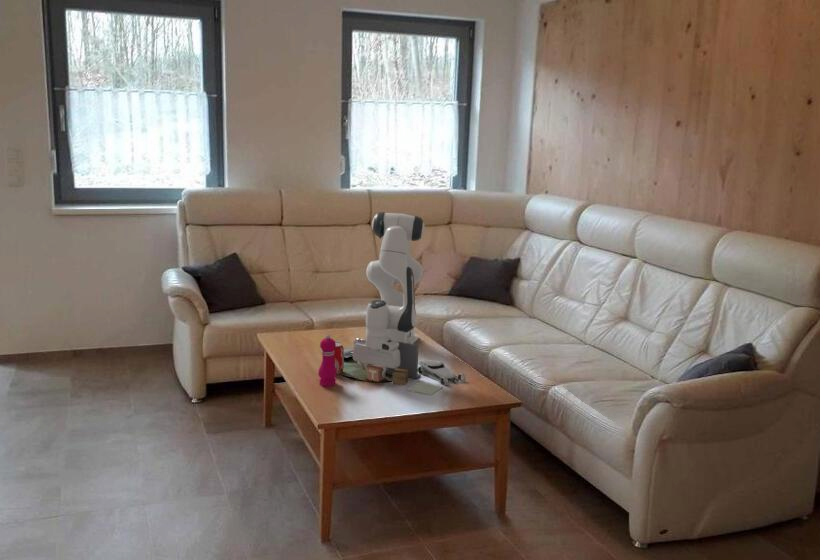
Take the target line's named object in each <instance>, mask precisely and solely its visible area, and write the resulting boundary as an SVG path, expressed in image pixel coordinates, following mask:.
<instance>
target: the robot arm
mask: <svg viewBox="0 0 820 560" xmlns="http://www.w3.org/2000/svg"><path fill="white" fill-rule="evenodd" d="M425 229H426V227H425V223H424V220H423V218H422V217H421V216H417V215H411V214H405V213H401V212H400V213H397V212H385V211H383V212H382V211H381V212H379V211H378V212H376V214H375V215H374V217H373V218H372V221H371V230H372V233H373V234H374V236H376V237H378V238H379V240H380V239H381V238H382V241H381V245H380V250H379V258H378V259H377V260H372V261H370V262H369V263H368V264H367V266H366V271H365V274H366V278H367V279H368V281H369V282H370V283H371V284H372V285H374V286H375V287H376V288H377V291H378V292H379V295H380V299H375V300H371V301H370V302H368V304H367V307H366V313H365V326H366V329H365V330H366V331H365V338H360V337H359V338H358V337H357V338H356V339H354V340H353V350H352V351H353V352H352V359H353V361H354V362H359V363H363V366H364V369H365V370H366V371H365V373H366V374H367V368H368V367H369V366H370V365H378V366H383V369H384V370H383V371H382V372H380V374H381V375H380V376H381V377H384V378H385V377H386V375H387V374H386V371H387V369H388V368H393V369H396V368H397V367H399V366H400V351H399V349H398V347H399V343H398V342H397V341H399V342H404V343H410V344H414V343H415V342H416V341H418V340H419V339H420V336H419V335H418V334H416V333H415V327H416V324H417V312H416V311H417V310H416V302H415V299H416V298H415V283H419V282H420V281H421V280H422V279H423V278H422V277H423V276H424V268H423V266H422V264H421V263H420V262H419V261H418V260H416V259H415V258H414V257H413V256H412V254H411V241H412V242H417V241H420V240H421V239H422V237H423V235H424V233H425ZM393 285H402V292H401V291H399V290H397V289H395V288H394V286H393Z"/></svg>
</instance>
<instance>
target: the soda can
mask: <svg viewBox="0 0 820 560" xmlns="http://www.w3.org/2000/svg"><path fill="white" fill-rule="evenodd" d="M335 343H336V346H335V349H334V355H333V362H334V365H335V367H336V370H337V375H340V374H342V373H343V372H344V369H345V368H344V367H345V365H344V364H345V363H344V362H345V360H344V359H345V354H344V353H345V350H344V349H345V347H344V346H343V343H342V342H338V341H335Z"/></svg>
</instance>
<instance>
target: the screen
mask: <svg viewBox="0 0 820 560" xmlns="http://www.w3.org/2000/svg"><path fill="white" fill-rule="evenodd" d="M397 342H398V343H399V347H398V349H399V351H400V366H399V367H397V368H396V369H405V370H408V379H411V380H414V381H415V380H418V379H420V377H421V376H422V375H421V374H419V373H418V368H419V363H418V362H419V346H420V345H419V344H414V343H413V344H410V343H404V342H399V341H397ZM394 370H395V369H393V368H388V369H387V371H386V375H390V376H393V371H394Z"/></svg>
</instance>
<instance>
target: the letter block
mask: <svg viewBox="0 0 820 560" xmlns="http://www.w3.org/2000/svg"><path fill="white" fill-rule="evenodd" d="M383 370H384V369H383V366H378V365H373V364H370V365H369V367H368V368H367V373H366V374H367V376H366V379H369V380H368V381H372V380H373V382H376V381H377V382H380V381H382V380H384V379H385V377H381V376H380V375H381V374H380V372H382V371H383ZM377 382H376V383H377Z"/></svg>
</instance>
